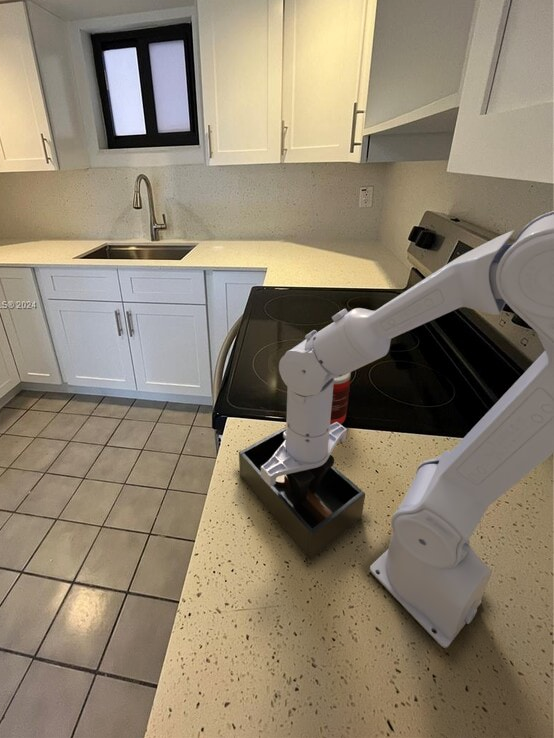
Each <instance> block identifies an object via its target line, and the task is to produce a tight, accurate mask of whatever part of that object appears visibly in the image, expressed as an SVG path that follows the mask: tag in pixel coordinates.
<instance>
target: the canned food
mask: <svg viewBox="0 0 554 738" xmlns="http://www.w3.org/2000/svg"><path fill="white" fill-rule="evenodd" d="M351 375H352V372H350V373H348V374H346V375H343V376H341V377H338V378H334V385H333V398H332V408H331V419H330V425H331V424H333V423H335V422H338V423H339V424H341V425H342V426H343V424H344V422H345V421H346V418H347V411H348V403H349V396H350V395H349V392H350V385H351V379H352V378H351Z"/></svg>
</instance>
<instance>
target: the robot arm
mask: <svg viewBox="0 0 554 738" xmlns="http://www.w3.org/2000/svg"><path fill="white" fill-rule="evenodd" d="M514 233H515V230H514V229H513V230H510V231H508V232H506V233H504V234H501V235H499V236H497V237H494V238H493V239H490V240H489V241H487V242H485V243H483V244H481V245H479V246H477V247H474V248H473V249H471V250H468V251H467V252H464V253H463V254H461V255H460V256H458V257H456V258H454V259H453V260H452V261H449V262H448V263H447V264H446V265H445V264H444V266H442V267H441V268H439V269H438V270H436V271H435V272H433V273H431V274H430V275H428V276H427V277H425V278H423V279H422V280H420V281H419V282H417V283H416V284H415V285H413V286H411V287H410V288H408V289H406V290H405V291H403V292H401V293H400V294H399V295H397V296H395V297H394V298H393V299H391V300H390V301H388V302H386V303H384V304H383V305H381V306H380V307H379V308H377V309H375V310H371V309H367V308H362V307H356V308H353V309H351V310H349V311H348V310H347V308H343V309H342V310H340V311H339V312H337V313H335V314H334V315H332V316H331V320H332V321H333V322H331V323H329V324H328V325H326V326H325V327H324V328H321V329H320V330H319V331H317V330H316V329H313V330H311V331H310V332H309V333H307V334H306V335H305V336H304V338H305V339H304V340H303V341H301V342H300V343H298V344H297V345H295V346H294V347H292V348H291V349H289V350H287V351H286V352H285V354H283V356H282V357H281V358H280V360H279V362H278V372H279V375H280V378H281V380H282V381H283V383H284V384H285V386H286V387H287V389H286V390H287V391H286V394H287V395H286V419H285V421H286V422H285V423H286V426H285V427H286V431H285V432H283V437H284V439H285V441H284V442H283V443H282V445H281V446H280V447H279V448H278V450H277V451H276V452H275V453H274V455H273V456H272V457H271V458H270V459H269V461H268V462H266V463H265V464H264V465H262V466H261V477H262V478H263V480H264V481H265V482H266V483H267V484H268V485H269V486H270V487H271V486H273V485H274V484H275V483H276V478H277V477H278V476H282V475H286V476H287V478H288V480H289V483H290V486H291V490H292V494H293V495H294V496H295V497H296V498H297V499H298V500H299V501H300V502H301V503H302V502H304V501H305V500H306V497H307V492H308V489H309V490H310V491H311V492H312V493H313V494H315V493H316V491H317V489H318V486H319V484H320V482H321V480H322V478H323V476H324V475H325V473H326V472H327V471H328V470H329V469H330V468H331V467H332V466H334V465H335V458H334V456H333V455H332V453H333V451H334V450H335V448H336V446H337V445H338V443H339V442H340V443H341V442H344V441H346V440H347V433H348V428H346V427H345V426H343V424H342V425H341V424H339V423H338V422H335V423H333V424H331V425H330V419H331V408H332V398H333V385H334V378H338V377H341V376H343V375H346V374H348V373H350V372H351V373H352V372H354V371H357V370H359V369H360V368H362V367H365V366H367V365H369V364H371V363H373V362H376V361H377V360H380V359H382V358H383V357H385V356H387V354H388V353H389V351H390V349H391V348H390V347H391V342H392V339H393V338H395V337H398V336H400V335H402V334H405V333H406V332H409V331H412V330H414V329H416V328H418V327H420V326H423V325H425V324H427V323H430V322H432V321H433V320H436V319H438V318H440V317H443V316H445V315H446V314H449V313H451V312H453V311H455V310H459V309H461V308H467V309H471V310H474V311H478V312H482V313H485V314H489V315H493V316H501V314H502V312H503V309H504V307H505V305H506V304H507V306H508V307H509V308H510V309H511V310H512V311H513V312H514V313H515V314H516V315H517V316H519V318H520V319H522V320H523V321H524V322H525V323H526V324H527V325H528V326H529V327H530V328H532V329H533V331H534V332H535V333H536V335H537V337H538V339H539V341H540V343H541V344H542V347H543V349H544V351H543V352H542V353H541V354H540V355H539V356H538V357H537V359H536V360H535V361H533V363H532V364H531V365H530V366H529V367H528V368H527V369H526V370H525V371H524V372H523V374H522V375H521V376H520V377H519V378H518V379H517V380H516V381H515V382H514V383H513V384H512V385H511V387H509V388H508V390H507V391H506V392H505V393H504V394H503V395H502V396H501V397H500V398H499V399H498V401H496V403H495V404H493V406H492V407H491V408H490V409H489V410H488V411H487V412H486V413H485V414H484V416H482V417H481V418H480V420H479V421H478V422H477V423H476V424H475V425H474V426H473V427H472V428H471V430H470V431H469V432H467V433H466V435H465V436H464V437H463V438H462V439H461V440H460V441H459V442H458V443H457V444H456V445H455V447H454V448H453V449H452V450H449V449H446V450H445V451H444V452H442V454H441V455H439V456H438V457H435V458H430V459H426V460H423V461H422V462H421V463H420V464H419V465H418V466H417V469H416V472H415V476H414V478H413V480H412V482H411V484H410V485H409V488H408V490H407V492H406V494H405V495H404V498H403V499H402V501H401V503H400V505H399V506H398V507H397V509H396V510H395V512H394V513H393V515H392V517H391V521H390V524H391V530H392V531H391V535H390V540H389V545H388V549H386V550H385V551H384V552H383V553H382V554H381V555H380V556H379V557H377V559H376V560H375V561H373V563H372V564H370V566H369V571H370V573H371V574H372V575H373V576H374V577H375V578H376V579H377V580H378V582H379V583H380V584H381V585H382V586H383V587H384V588H385V589H386V590H387V591H388V592H389V593H390V594H391V595H392V596H393V597H394V599H396V600H397V601H398V602H399V603H400V604H401V605H402V607H403V608H404V609H405V610H406V611H407V612H408V613H409V614H410V615H411V616H412V617H413V618H414V620H416V621H417V622H418V624H419V625H421V627H422V628H423V629H424V630H425V631H426V632H427V633H428V634H429V636H430V637H432V638H433V639H434V640H435V641H436V643H438V645H439V646H441V648H443V649H448V648H449V646H450V645H451V644H452V643H453V641H454V640H455V638H456V637H457V636H458V635H459V633H460V632H461V630H462V629H463V628H464V626H465V625H466V624H467V625H469V624H470V623H471V622H472V621H473V619H474V618H475V616H476V614H477V612H478V608H479V606H480V605H481V603H482V600H483V599H482V598H483V596H484V593H485V591H486V588H487V586H488V584H489V581H490V579H491V576H492V572H493V571H492V570H493V569H492V568H490V566H489V565H488V564H486V562H484V561H483V560H482V558H481V557H479V555H478V554H477V553H476V551H475V550H474V549H473V548H472V546H471V545H470V539H471V538H472V536H473V534H474V533H475V531H476V529H477V528H478V526H479V524H480V522H481V520H482V519H483V517H484V515H485V513H486V511H487V510H488V508H489V507H490V506H491V505H492V504H493V503H495V502H496V501H497V500H498V499H499V498H501V497H502V496H503V495H505V494H506V493H507V492H508V491H509V490H510V489H512V488H513V487H514V486H515V485H517V484H518V483H519V482H520V481H522V480H523V479H524V478H525V477H526V476H528V475H529V474H530V473H532V471H534V470H536V468H538V467H539V466H540V465H541V464H543V463H544V462H545V461H546V460H548V458H550V457H551V456H552V455H553V454H554V210H552V211H549V212H546V213H544V214H541V215H539V216H536V218H534V219H532V220H531V221H530V222H528V223H527V224H525V226H524V227H522V229H521V230H520V231H519V233H518V235H517V236H516V238H515V240H514V242H511V243H508V242H509V241H510V238H511V237H512V235H513V234H514ZM433 631H434V632H433Z"/></svg>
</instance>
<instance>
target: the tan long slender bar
mask: <svg viewBox="0 0 554 738" xmlns="http://www.w3.org/2000/svg"><path fill="white" fill-rule="evenodd" d="M274 485H275V486H278V487H286V488H287V489H288V490H289V491H290V492H291V493H292V490H291V486H290V483H289V480H288V478H287V476H286V475H282V476H278V477H277V478H276V483H275V484H274ZM297 500H298V499H297ZM298 501H299V500H298ZM299 502H300V501H299ZM300 503H301V502H300ZM301 504H302V505H303V506H304V507H305V508H306V509H307V510H308V511H309V512H310V513H311V514H312V516H313V517H314V518H315V519H316V520H317V521H318V522H319V523H320V522H322V521H323V520H324V519H326V518H327V517H328V516H330V515H331V514H332V512H331V511H330V510H329V509H328V508H327V507H326V506H325V505H324V504H323V503H322V502H321V501H320V500H319V499H318V498H317V497H316V496H315V495H314V494H313V493H312V492H311V491H310V490H309V489H308V492H307V497H306V500H305V501H304V502H302V503H301Z"/></svg>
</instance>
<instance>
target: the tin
mask: <svg viewBox="0 0 554 738" xmlns="http://www.w3.org/2000/svg"><path fill="white" fill-rule="evenodd" d="M285 431H286V426H284V427H283V428H281V429H279V430H277V431H275V432H274V433H271V434H269V435H268V436H266V437H263V438H262V439H261V440H259V441H257V442H255V443H253V444H251V445H249V446H248V447H246V448H244V449H241V450H240V451H239V452H238V463H239V464H238V465H239V476H240V477H241V478H242V480H243V481H244V482H245V483H246V484H247V485H248V487H249V488H250V489H251V490H252V492H253V493H254V494H255V495H256V497H257V498H258V499H259V500H260V501H261V503H263V505H264V506H265V508H266V509H267V510H268V511H269V512H270V514H271V515H272V516H273V517H274V519H276V521H277V522H278V523H279V524H280V526H281V527H282V528H283V529H284V531H285V532H286V533H287V534H288V535H289V536H290V538H292V540H293V541H294V543H295V544H296V545H297V547H298V548H300V550H301V551H302V552H303V554H305V556H306V557H307V559H309V561H311V560H312V559H314V558H315V557H316V556H318V554H320V553H321V552H322V551H323V550H325V549H326V548H327V547H328V546H330V545H331V544H332V543H333V542H334V541H336V540H337V539H338V538H340V536H342V535H343V534H344V533H345V532H347V531H348V530H349V529H351V527H353V526H354V525H355V524H356V523H358V522H359V521H360V520H362V517H363V512H364V506H365V505H364V504H365V500H366V493H365V492H364V491H363V490H362V489H361V488H360V487H358V486H357V485H356V484H355V483H354V482H353V481H352V480H351V479H349V478H348V477H347V476H346V475H344V473H343V472H341V471H340V470H339V469H338V468H336V466H334V465H333V466H332V467H331V468H330V469H329V470H328V471H327V472H326V473H325V475H324V476H323V478H322V480H321V482H320V484H319V486H318V489H317V491H316V493H315V494H314V495H315V496H316V497H317V498H318V499H319V500H320V501H321V502H322V503H323V504H324V505H325V506H326V507H327V508H328V509H329V510H330V511H331V512H332V514H331V515H330V516H328V517H327V518H326V519H324V520H323V521H322V522H320V523H319V522H318V521H317V520H316V519H315V518H314V517H313V516H312V514H311V513H310V512H309V511H308V510H307V509H306V508H305V507H304V506H303V505H302V504H301V503H300V502H299V501H298V500H297V498H296V497H295V496H294V495H293V494H292V493H291V492H290V491H289V490H288V489H287V488H286V487H278V486H275V485H273V486H271V487H270V486H269V485H268V484H267V483H266V482H265V481H264V480H263V478H262V477H261V466H262V465H264V464H265V463H266V462H268V461H269V459H270V458H271V457H272V456H273V455H274V453H275V452H276V451H277V450H278V448H279V447H280V446H281V445H282V443H283V442H284V441H285V439H284V437H283V432H285Z"/></svg>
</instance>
